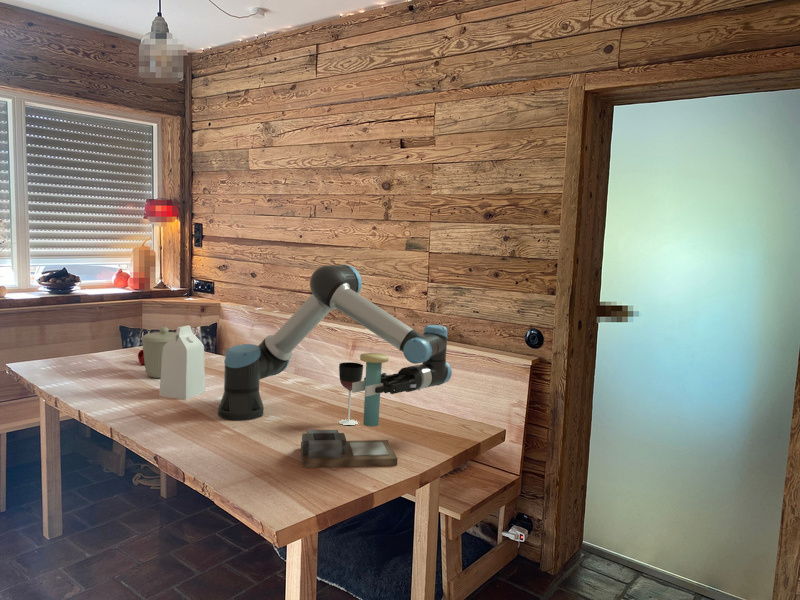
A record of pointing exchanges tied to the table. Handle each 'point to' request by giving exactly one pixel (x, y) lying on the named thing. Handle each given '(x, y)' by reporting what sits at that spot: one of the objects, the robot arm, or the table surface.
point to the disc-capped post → (372, 378)
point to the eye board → (353, 459)
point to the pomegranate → (141, 357)
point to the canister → (155, 350)
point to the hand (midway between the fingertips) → (359, 389)
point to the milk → (182, 366)
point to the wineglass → (349, 383)
